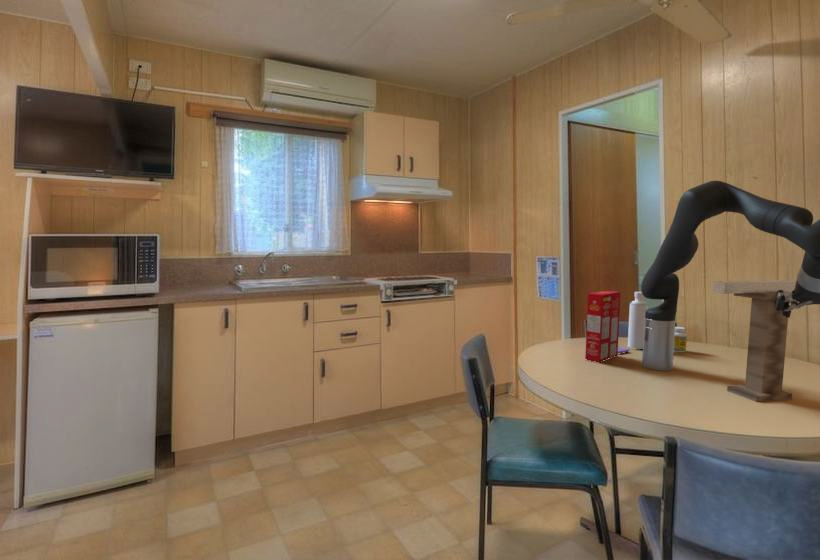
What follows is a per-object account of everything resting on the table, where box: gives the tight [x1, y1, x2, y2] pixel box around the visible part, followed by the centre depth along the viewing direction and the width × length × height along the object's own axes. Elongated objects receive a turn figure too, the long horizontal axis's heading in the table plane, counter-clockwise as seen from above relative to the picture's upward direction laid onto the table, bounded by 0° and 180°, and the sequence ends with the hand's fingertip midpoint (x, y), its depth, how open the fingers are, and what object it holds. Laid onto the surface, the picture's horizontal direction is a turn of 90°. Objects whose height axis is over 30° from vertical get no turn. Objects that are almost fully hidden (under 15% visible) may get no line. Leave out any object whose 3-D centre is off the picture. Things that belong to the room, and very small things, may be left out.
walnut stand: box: [726, 292, 793, 403], centre depth 125 cm, size 12×9×30 cm
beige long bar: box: [712, 279, 796, 295], centre depth 123 cm, size 24×4×3 cm, turn 101°
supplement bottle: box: [674, 326, 688, 353], centre depth 176 cm, size 5×5×10 cm
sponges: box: [618, 346, 630, 353], centre depth 178 cm, size 7×13×2 cm, turn 26°
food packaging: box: [584, 290, 622, 363], centre depth 165 cm, size 15×5×25 cm, turn 130°
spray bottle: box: [627, 291, 649, 349], centre depth 180 cm, size 7×7×25 cm
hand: (808, 313), depth 111 cm, fingers open, 8 cm apart
